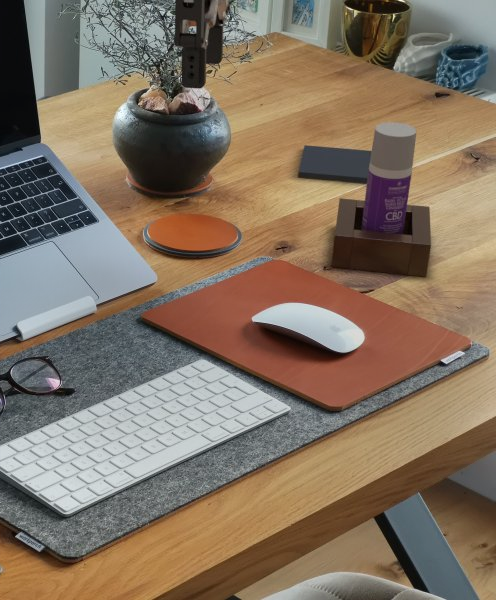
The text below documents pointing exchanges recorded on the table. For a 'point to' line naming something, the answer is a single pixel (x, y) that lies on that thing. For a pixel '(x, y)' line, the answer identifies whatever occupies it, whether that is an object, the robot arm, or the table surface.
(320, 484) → the table surface
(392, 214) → the container
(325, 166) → the mat
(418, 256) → the stand
